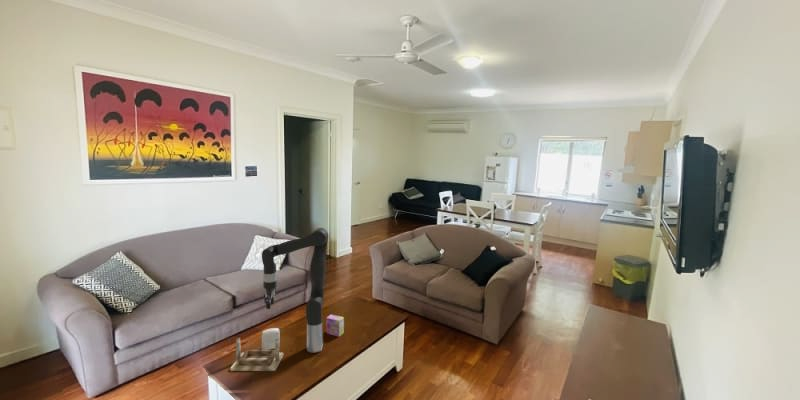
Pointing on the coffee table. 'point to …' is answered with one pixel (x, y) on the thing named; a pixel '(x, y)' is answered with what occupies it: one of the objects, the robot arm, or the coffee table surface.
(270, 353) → the beige hollow frame piece
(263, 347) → the photo printer
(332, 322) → the box
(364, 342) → the coffee table surface
